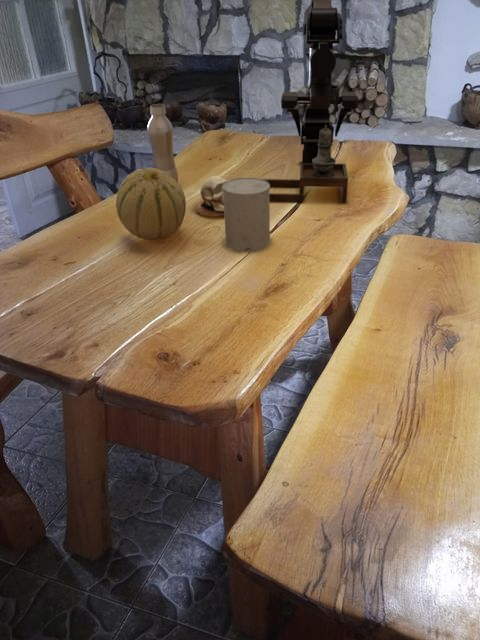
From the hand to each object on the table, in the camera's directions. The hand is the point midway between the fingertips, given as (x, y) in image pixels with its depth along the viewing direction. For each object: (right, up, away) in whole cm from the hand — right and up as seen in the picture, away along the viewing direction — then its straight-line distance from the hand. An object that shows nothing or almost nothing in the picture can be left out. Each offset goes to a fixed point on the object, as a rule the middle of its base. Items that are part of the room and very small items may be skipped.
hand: (317, 136), depth 141 cm
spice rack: (-5, -15, -1) cm, 16 cm away
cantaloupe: (-38, -30, -21) cm, 53 cm away
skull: (-24, -21, -8) cm, 33 cm away
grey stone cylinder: (-17, -32, -24) cm, 43 cm away
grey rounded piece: (+1, -12, -5) cm, 13 cm away
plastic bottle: (-40, -12, +5) cm, 42 cm away
